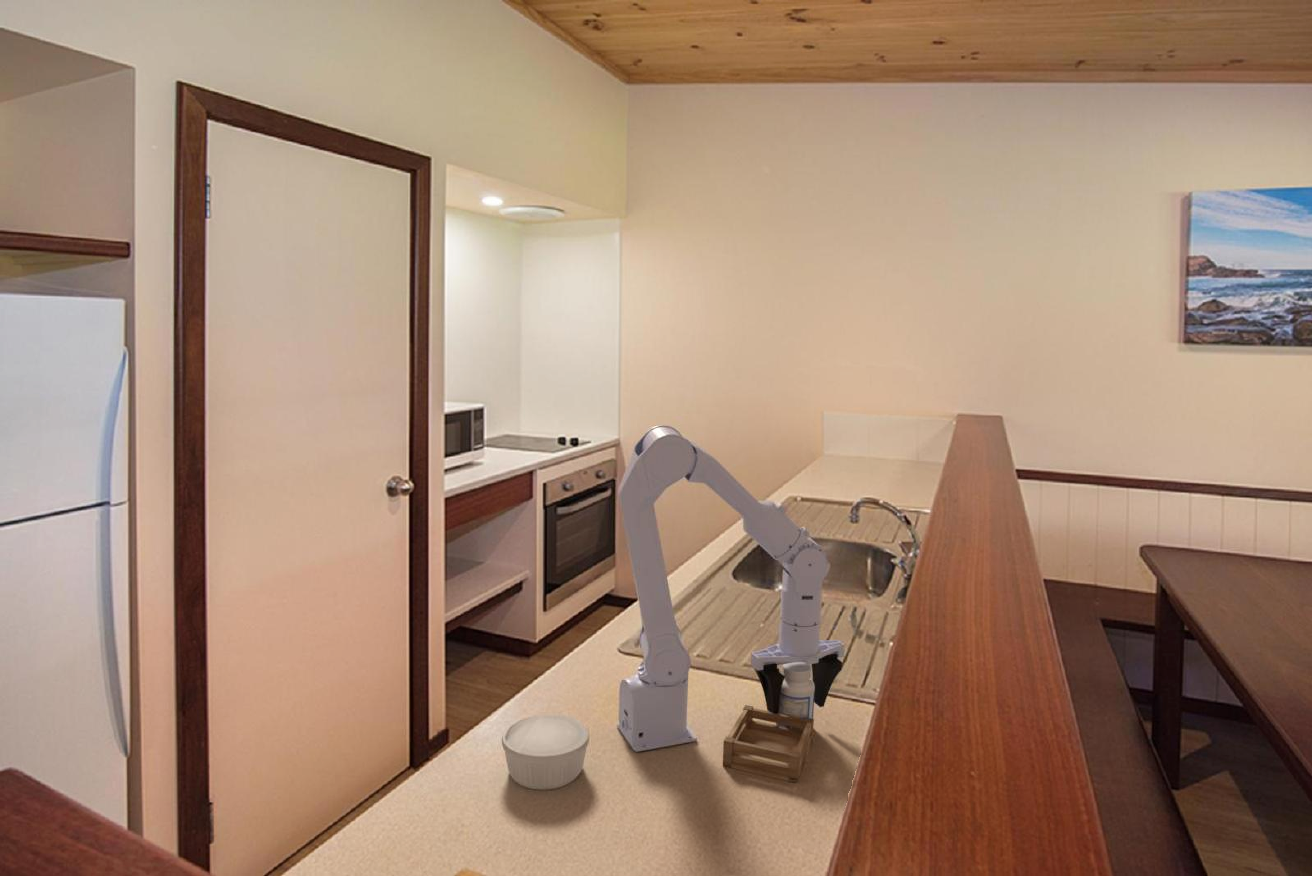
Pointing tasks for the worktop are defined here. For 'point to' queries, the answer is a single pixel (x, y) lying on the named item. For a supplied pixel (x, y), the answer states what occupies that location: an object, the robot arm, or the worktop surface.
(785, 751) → the crate
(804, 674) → the pill bottle
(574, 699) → the worktop surface
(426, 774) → the worktop surface
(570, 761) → the ramekin
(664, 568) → the robot arm
